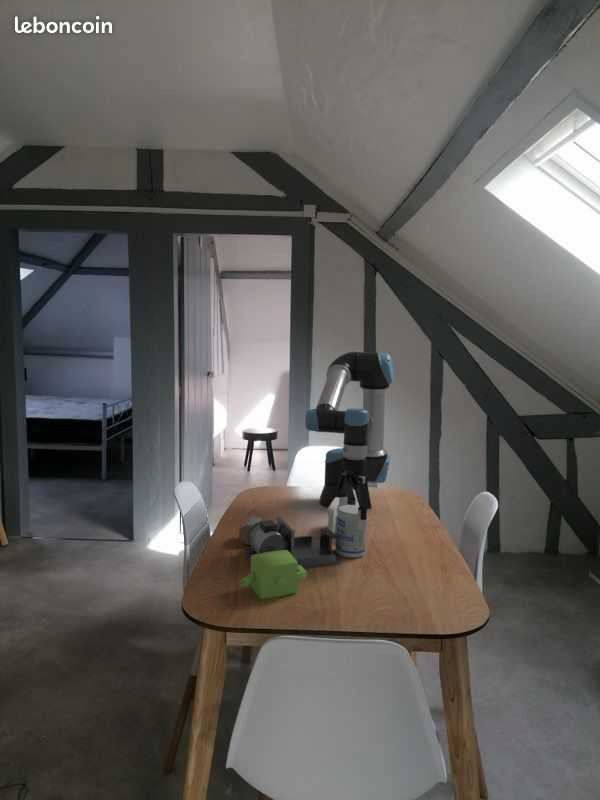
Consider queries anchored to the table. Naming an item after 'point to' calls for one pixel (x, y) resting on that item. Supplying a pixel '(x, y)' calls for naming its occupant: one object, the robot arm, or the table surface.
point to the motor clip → (291, 543)
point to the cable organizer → (334, 514)
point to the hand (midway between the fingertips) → (351, 522)
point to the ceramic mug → (247, 529)
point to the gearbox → (274, 574)
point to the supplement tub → (349, 533)
